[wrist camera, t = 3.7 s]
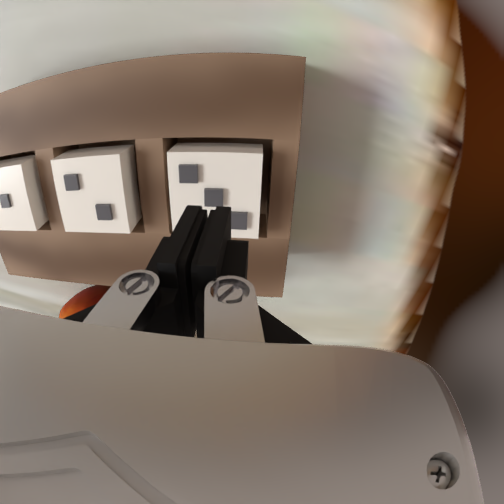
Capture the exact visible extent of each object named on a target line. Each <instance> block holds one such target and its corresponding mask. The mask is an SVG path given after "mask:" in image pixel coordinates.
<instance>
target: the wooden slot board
mask: <svg viewBox="0 0 504 504" xmlns="http://www.w3.org/2000/svg"><path fill="white" fill-rule="evenodd" d="M305 62H306V57H301V56H290V55H278V54H260V53H196V54H179V55H167V56H156V57H147V58H139V59H132V60H125V61H119V62H113V63H107V64H102V65H97V66H92V67H87V68H82V69H78V70H74V71H70V72H66V73H62V74H58V75H54V76H51V77H47V78H44V79H40V80H37V81H34V82H31V83H27V84H24V85H21V86H18V87H16V88H13V89H10V90H7V91H4V92H2V93H0V161H1V160H7V159H12V158H18V157H24V156H30V155H35V156H36V162H37V167H38V173H39V178H40V183H41V188H42V193H43V197H44V202H45V206H46V210H47V214H48V218H49V220H48V221H47V222H46V223H45V224H44V225H43V226H41V227H40V228H39V229H38V230H37V231H10V230H0V253H1V256H2V259H3V261H4V264H5V266H6V269H7V271H8V274H11V275H18V276H25V277H33V278H41V279H49V280H58V281H66V282H75V283H85V284H94V285H104V286H112V285H113V284H114V282H115V281H116V280H117V279H118V278H119V277H120V276H121V275H123V274H125V273H127V272H130V271H133V270H145V269H146V267H147V265H148V263H149V262H150V260H151V258H152V256H153V254H154V252H155V250H156V249H157V247H158V245H159V243H160V241H161V240H162V238H163V237H170V236H171V234H172V232H173V230H172V219H171V208H170V195H169V181H168V166H167V152H168V151H169V150H170V149H171V148H172V147H173V146H174V145H175V144H176V143H245V144H263V163H262V181H261V199H260V217H259V235H258V239H252V238H231V240H245V241H249V249H248V271H247V280H248V281H249V282H251V283H252V284H253V286H254V288H255V292H256V296H263V297H282V295H283V288H284V280H285V272H286V264H287V256H288V247H289V239H290V230H291V221H292V212H293V203H294V193H295V183H296V173H297V163H298V152H299V141H300V129H301V117H302V105H303V91H304V77H305ZM118 145H134V151H135V163H136V174H137V183H138V192H139V201H140V209H141V216H142V217H141V219H140V220H139V222H138V223H137V224H136V226H135V227H134V229H133V230H132V232H131V233H130V234H126V233H94V232H65V228H64V224H63V220H62V216H61V211H60V207H59V203H58V198H57V193H56V188H55V183H54V178H53V172H52V166H51V160H52V159H54V158H55V157H57V156H59V155H61V154H63V153H64V152H66V151H68V150H74V149H83V148H94V147H105V146H118Z"/></svg>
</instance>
